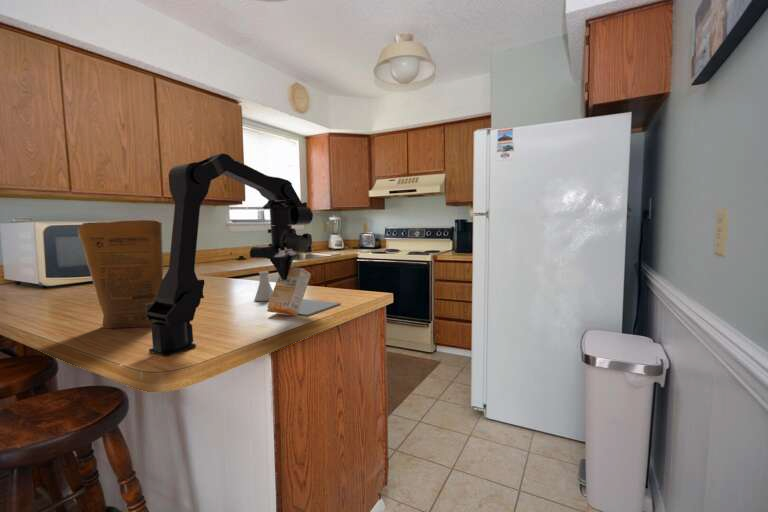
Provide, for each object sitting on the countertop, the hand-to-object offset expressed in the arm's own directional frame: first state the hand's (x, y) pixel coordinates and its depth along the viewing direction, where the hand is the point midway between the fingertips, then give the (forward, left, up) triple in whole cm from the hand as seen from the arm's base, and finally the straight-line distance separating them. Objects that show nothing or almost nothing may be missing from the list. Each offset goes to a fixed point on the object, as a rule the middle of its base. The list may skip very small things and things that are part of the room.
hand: (284, 279), depth 99 cm
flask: (+13, +23, -11) cm, 29 cm away
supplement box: (-2, 0, -9) cm, 9 cm away
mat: (+9, +1, -10) cm, 14 cm away
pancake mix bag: (-26, +30, -11) cm, 41 cm away
